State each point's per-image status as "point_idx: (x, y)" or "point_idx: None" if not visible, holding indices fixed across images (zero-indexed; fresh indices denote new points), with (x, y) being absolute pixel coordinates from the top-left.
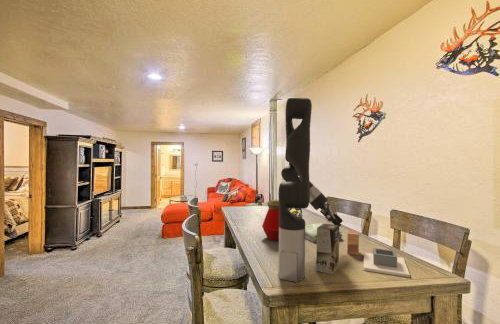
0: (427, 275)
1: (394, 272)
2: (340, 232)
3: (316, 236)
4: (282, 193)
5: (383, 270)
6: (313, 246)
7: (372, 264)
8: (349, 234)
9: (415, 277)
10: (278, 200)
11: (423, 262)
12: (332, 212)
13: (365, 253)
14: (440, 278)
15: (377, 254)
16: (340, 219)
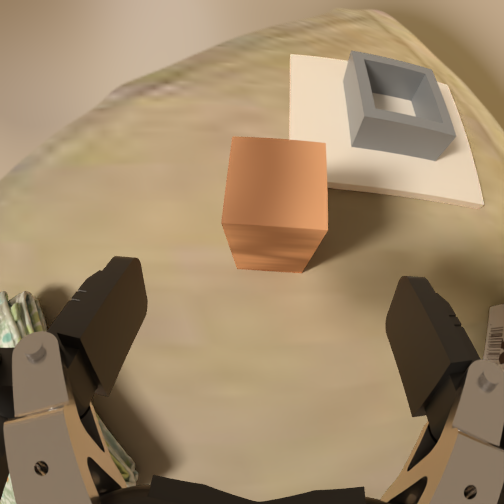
0: (397, 49)
1: (459, 116)
2: (6, 299)
3: None
4: None
5: (468, 143)
6: (232, 477)
7: (439, 165)
8: (324, 216)
9: None
10: None
11: (283, 26)
12: (459, 467)
13: None
14: (398, 35)
15: (451, 123)
16: (123, 285)
